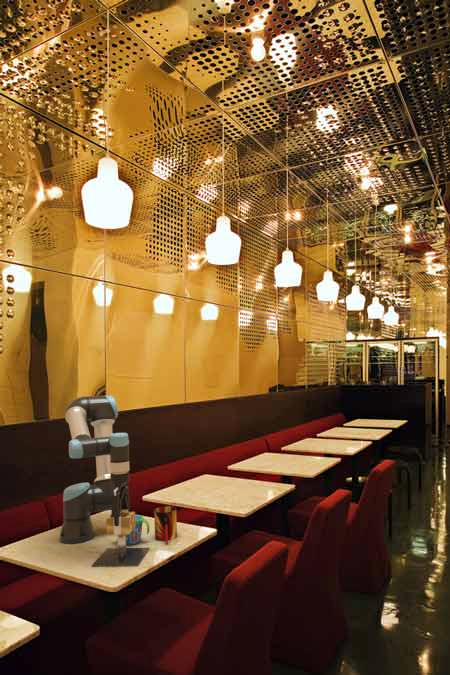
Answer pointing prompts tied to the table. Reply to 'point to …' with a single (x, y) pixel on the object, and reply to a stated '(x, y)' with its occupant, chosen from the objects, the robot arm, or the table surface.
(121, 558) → the post stand
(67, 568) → the table surface
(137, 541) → the snack cup
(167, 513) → the mug
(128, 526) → the square wooden frame
